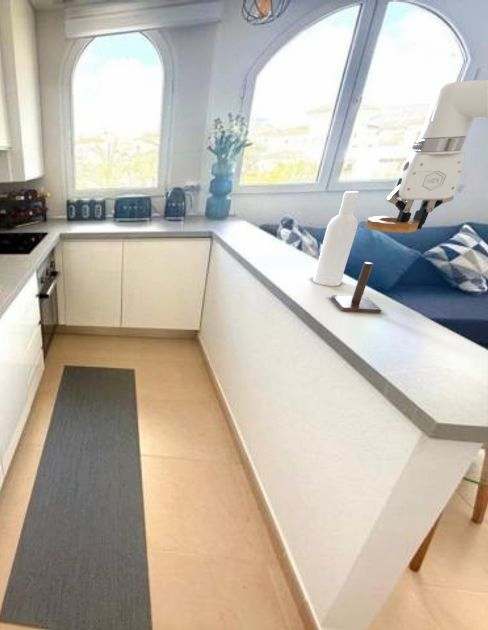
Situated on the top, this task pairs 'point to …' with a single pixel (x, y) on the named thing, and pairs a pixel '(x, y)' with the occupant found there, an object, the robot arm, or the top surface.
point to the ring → (391, 224)
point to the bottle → (337, 243)
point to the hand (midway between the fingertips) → (408, 227)
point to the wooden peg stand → (358, 295)
